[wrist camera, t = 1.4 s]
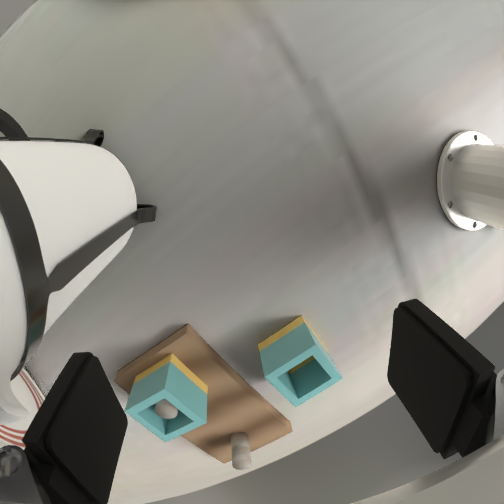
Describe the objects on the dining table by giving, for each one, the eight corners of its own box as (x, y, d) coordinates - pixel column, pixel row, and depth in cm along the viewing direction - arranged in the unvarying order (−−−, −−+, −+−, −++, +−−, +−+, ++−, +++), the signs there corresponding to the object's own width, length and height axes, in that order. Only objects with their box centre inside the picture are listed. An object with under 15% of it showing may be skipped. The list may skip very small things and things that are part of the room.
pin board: (290, 421, 40) (299, 458, 33) (223, 453, 41) (225, 489, 34) (188, 323, 34) (181, 361, 27) (118, 371, 35) (103, 408, 28)
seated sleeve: (207, 386, 34) (206, 422, 28) (170, 406, 34) (165, 442, 29) (172, 352, 32) (164, 388, 26) (135, 376, 33) (124, 411, 27)
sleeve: (326, 348, 36) (342, 378, 30) (285, 374, 37) (295, 407, 31) (301, 315, 34) (315, 344, 29) (257, 344, 35) (264, 376, 29)
